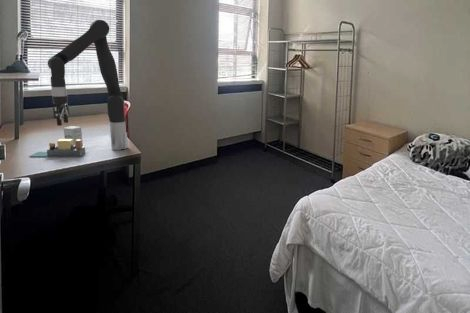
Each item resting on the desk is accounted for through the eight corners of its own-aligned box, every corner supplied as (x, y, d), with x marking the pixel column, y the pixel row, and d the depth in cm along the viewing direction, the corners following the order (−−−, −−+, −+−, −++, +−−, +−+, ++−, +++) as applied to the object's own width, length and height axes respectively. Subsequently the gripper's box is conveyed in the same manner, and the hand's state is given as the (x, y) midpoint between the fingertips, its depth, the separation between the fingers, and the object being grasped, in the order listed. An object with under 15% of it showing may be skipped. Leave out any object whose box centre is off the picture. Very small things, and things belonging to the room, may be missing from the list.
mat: (53, 152, 197) (53, 151, 197) (46, 157, 189) (46, 156, 189) (37, 152, 197) (37, 151, 197) (29, 157, 188) (29, 156, 188)
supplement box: (65, 147, 209) (62, 127, 206) (74, 144, 216) (72, 125, 213) (74, 148, 207) (72, 128, 204) (83, 146, 214) (81, 126, 210)
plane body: (85, 153, 198) (83, 138, 196) (80, 156, 190) (78, 141, 188) (54, 153, 197) (52, 138, 194) (47, 156, 189) (45, 141, 187)
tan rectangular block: (73, 147, 195) (72, 139, 194) (70, 149, 191) (69, 140, 189) (61, 147, 194) (60, 139, 193) (58, 149, 190) (57, 140, 189)
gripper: (61, 96, 178) (64, 126, 182) (71, 93, 191) (74, 121, 196) (46, 96, 177) (50, 126, 182) (58, 93, 191) (61, 121, 195)
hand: (63, 124), depth 189 cm, fingers open, 8 cm apart
